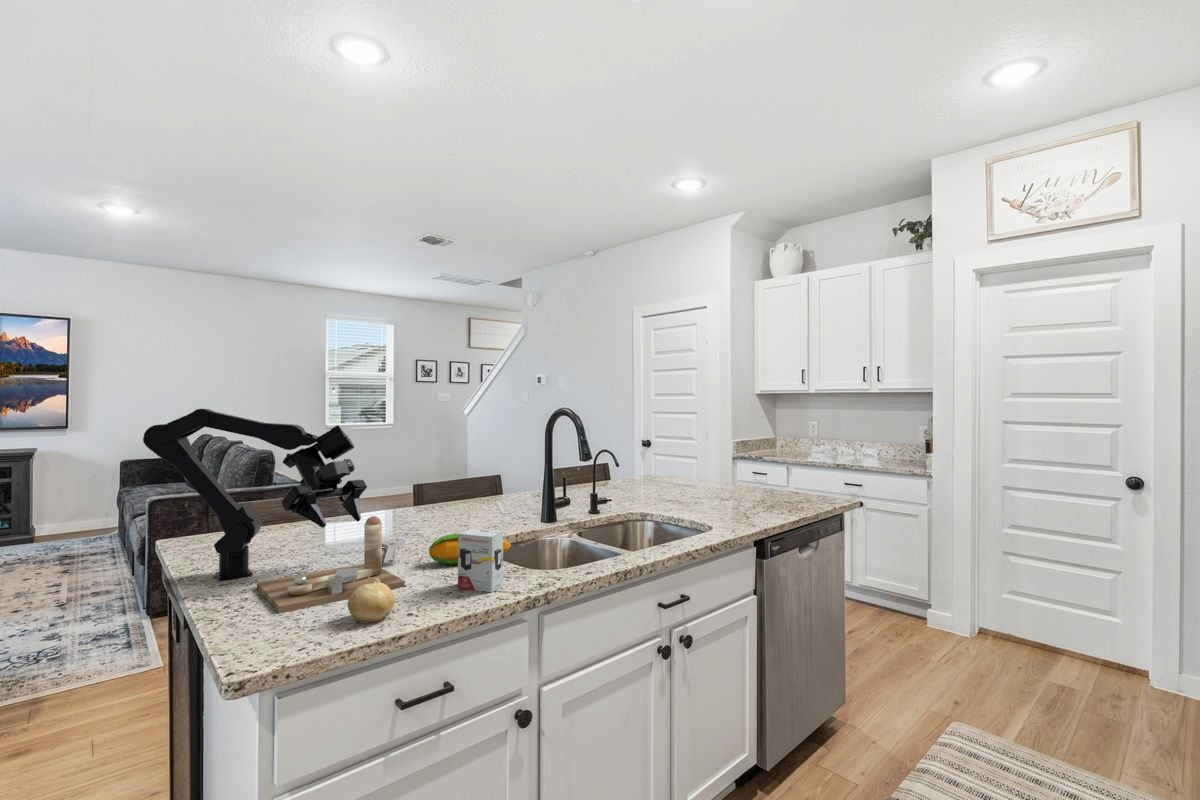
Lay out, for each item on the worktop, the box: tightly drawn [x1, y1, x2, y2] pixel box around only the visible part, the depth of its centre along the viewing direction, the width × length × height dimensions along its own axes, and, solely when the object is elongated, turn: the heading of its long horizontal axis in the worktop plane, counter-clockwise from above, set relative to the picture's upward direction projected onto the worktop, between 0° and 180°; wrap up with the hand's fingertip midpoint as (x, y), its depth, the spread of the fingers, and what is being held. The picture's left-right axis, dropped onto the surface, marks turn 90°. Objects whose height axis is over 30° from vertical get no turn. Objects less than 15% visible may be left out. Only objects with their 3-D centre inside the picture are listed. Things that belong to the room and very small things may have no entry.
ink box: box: [457, 528, 504, 593], centre depth 123 cm, size 9×5×12 cm, turn 70°
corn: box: [428, 533, 512, 565], centre depth 144 cm, size 7×8×20 cm
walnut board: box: [256, 563, 406, 614], centre depth 123 cm, size 20×24×1 cm
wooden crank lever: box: [288, 516, 383, 595], centre depth 122 cm, size 20×4×13 cm, turn 143°
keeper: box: [294, 568, 357, 595], centre depth 117 cm, size 8×12×3 cm, turn 131°
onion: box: [347, 577, 395, 624], centre depth 105 cm, size 8×8×7 cm
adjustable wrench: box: [382, 537, 406, 567], centre depth 151 cm, size 25×6×2 cm, turn 13°
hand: (342, 523), depth 131 cm, fingers open, 9 cm apart
